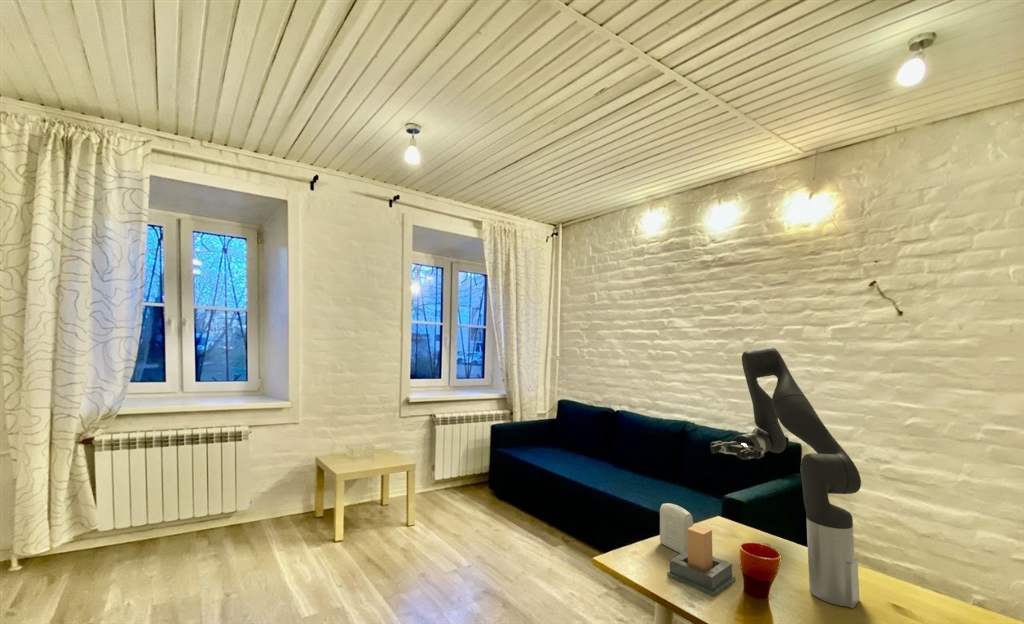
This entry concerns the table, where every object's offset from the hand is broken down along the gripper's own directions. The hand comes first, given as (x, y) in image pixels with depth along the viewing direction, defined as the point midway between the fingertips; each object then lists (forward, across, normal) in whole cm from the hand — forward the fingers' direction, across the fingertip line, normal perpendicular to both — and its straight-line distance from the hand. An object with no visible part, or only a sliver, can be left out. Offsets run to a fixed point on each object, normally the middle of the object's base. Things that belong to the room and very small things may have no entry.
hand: (726, 452), depth 132 cm
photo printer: (+12, -10, +28) cm, 32 cm away
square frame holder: (+23, +3, +28) cm, 36 cm away
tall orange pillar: (+23, +3, +27) cm, 36 cm away
